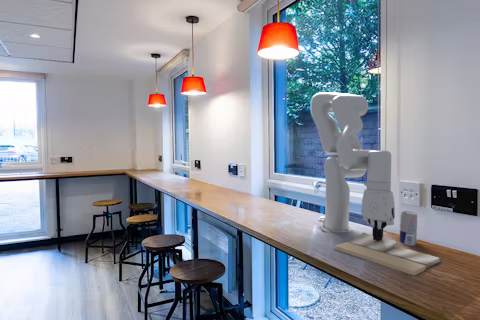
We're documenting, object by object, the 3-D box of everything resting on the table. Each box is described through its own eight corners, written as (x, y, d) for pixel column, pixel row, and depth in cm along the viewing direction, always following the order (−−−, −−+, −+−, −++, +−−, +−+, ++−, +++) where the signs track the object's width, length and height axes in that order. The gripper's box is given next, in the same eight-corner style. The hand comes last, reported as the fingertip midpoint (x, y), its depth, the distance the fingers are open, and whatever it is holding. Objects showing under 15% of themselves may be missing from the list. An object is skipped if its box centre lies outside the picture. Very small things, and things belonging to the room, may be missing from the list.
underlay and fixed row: (330, 253, 107) (330, 246, 107) (366, 241, 120) (366, 236, 119) (410, 281, 86) (410, 273, 86) (443, 263, 99) (443, 256, 99)
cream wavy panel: (384, 255, 102) (384, 252, 102) (399, 250, 108) (399, 246, 107) (426, 268, 92) (426, 264, 92) (439, 261, 98) (439, 257, 98)
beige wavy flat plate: (349, 244, 113) (349, 241, 112) (363, 235, 118) (363, 232, 118) (383, 255, 103) (382, 251, 102) (397, 244, 108) (397, 241, 108)
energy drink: (401, 242, 120) (402, 210, 119) (417, 245, 116) (418, 212, 115) (397, 245, 115) (399, 212, 115) (414, 249, 112) (415, 215, 111)
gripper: (352, 185, 113) (352, 236, 114) (394, 189, 101) (393, 246, 102) (365, 183, 118) (364, 233, 119) (406, 187, 106) (404, 242, 107)
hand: (377, 239), depth 110 cm, fingers closed
